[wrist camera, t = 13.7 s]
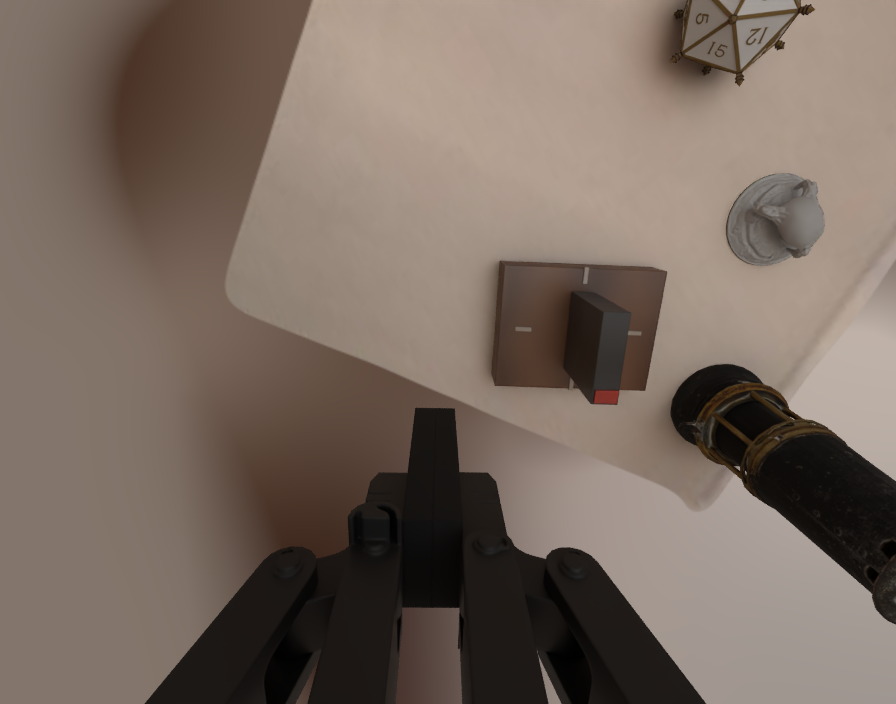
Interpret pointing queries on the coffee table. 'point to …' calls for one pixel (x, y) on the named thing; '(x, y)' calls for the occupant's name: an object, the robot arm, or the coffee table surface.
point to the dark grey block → (596, 346)
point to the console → (547, 314)
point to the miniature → (775, 220)
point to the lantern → (796, 472)
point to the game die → (734, 31)
